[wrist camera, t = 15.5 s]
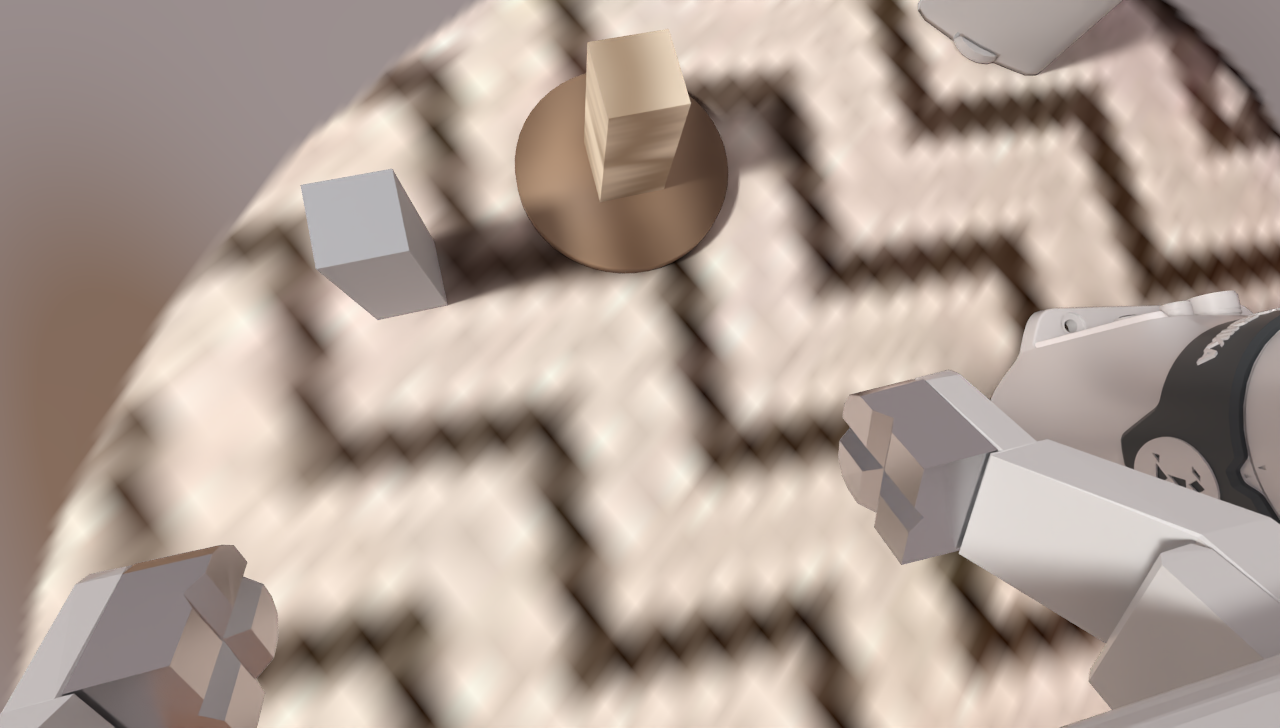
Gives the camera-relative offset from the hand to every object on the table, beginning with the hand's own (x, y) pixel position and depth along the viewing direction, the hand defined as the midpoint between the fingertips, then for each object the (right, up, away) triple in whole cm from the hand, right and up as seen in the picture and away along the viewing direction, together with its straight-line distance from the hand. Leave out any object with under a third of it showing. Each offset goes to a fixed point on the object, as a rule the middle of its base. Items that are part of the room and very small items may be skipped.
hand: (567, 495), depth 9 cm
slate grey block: (-13, +7, +29) cm, 32 cm away
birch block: (0, +14, +30) cm, 33 cm away
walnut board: (0, +14, +31) cm, 34 cm away
